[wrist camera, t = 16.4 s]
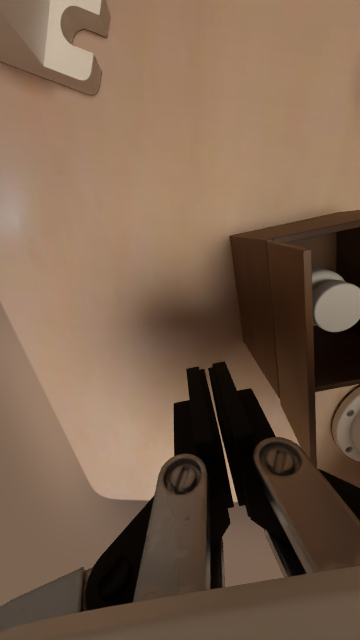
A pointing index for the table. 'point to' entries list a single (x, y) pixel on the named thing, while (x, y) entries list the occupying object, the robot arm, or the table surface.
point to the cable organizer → (53, 39)
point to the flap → (294, 338)
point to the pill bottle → (334, 301)
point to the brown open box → (256, 298)
